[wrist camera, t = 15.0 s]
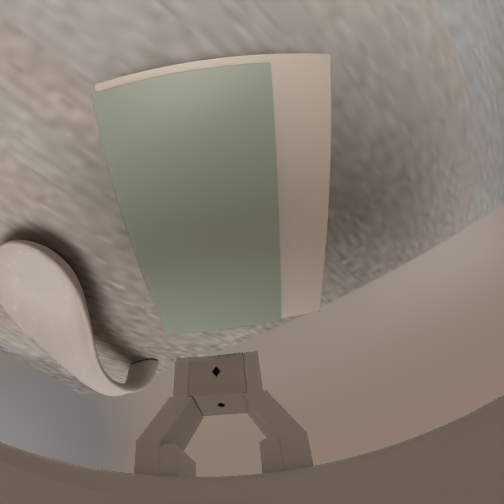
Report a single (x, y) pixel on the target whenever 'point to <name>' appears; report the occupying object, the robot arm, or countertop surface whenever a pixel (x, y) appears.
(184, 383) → the robot arm
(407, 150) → the countertop surface
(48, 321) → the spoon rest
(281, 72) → the beige rectangular box
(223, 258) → the cover
